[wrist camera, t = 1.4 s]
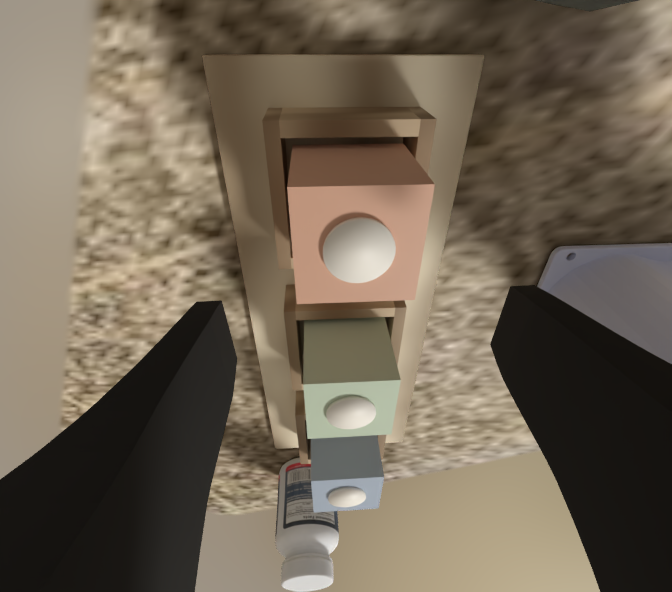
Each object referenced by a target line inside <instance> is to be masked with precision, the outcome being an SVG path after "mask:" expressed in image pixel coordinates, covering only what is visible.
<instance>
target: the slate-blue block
mask: <svg viewBox="0 0 672 592" xmlns="http://www.w3.org/2000/svg"><path fill="white" fill-rule="evenodd" d="M383 480H384V474H383V468H382V462H381V456H380V450H379V444H378V438H377V435H371V436H353V437H334V438H316V439H311V486H312V498H313V511H314V513H315V512H331V511H345V510H361V509H377V508H379V503H380V497H381V491H382V486H383Z"/></svg>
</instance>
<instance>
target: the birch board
mask: <svg viewBox="0 0 672 592" xmlns="http://www.w3.org/2000/svg"><path fill="white" fill-rule="evenodd" d="M484 57H485V55H480V54H208V55H202V59H203V65H204V70H205V75H206V81H207V86H208V92H209V97H210V102H211V108H212V113H213V118H214V124H215V129H216V134H217V140H218V145H219V150H220V156H221V161H222V166H223V172H224V177H225V183H226V188H227V193H228V199H229V204H230V209H231V215H232V220H233V225H234V231H235V236H236V241H237V247H238V252H239V258H240V263H241V268H242V274H243V279H244V284H245V290H246V295H247V300H248V306H249V311H250V316H251V322H252V327H253V332H254V338H255V343H256V349H257V354H258V359H259V365H260V370H261V375H262V381H263V386H264V391H265V397H266V402H267V407H268V413H269V418H270V423H271V429H272V434H273V440H274V445H275V449H285V448H299V455H300V463H301V464H311V439H308V437H307V425H306V412H305V400H304V388H303V367H304V320H317V319H343V318H370V317H385V320H386V324H387V328H388V332H389V336H390V340H391V344H392V347H393V351H394V355H395V359H396V363H397V367H398V371H399V375H400V379H401V382H400V388H399V394H398V399H397V405H396V411H395V417H394V422H393V428H392V434H389V435H377V438H378V444H379V450H380V456H381V460H383V453H384V447H385V443H393V442H403V437H404V433H405V428H406V423H407V419H408V414H409V409H410V405H411V400H412V395H413V390H414V386H415V381H416V376H417V372H418V367H419V362H420V358H421V353H422V348H423V343H424V339H425V334H426V329H427V325H428V320H429V315H430V311H431V306H432V301H433V296H434V292H435V287H436V282H437V278H438V273H439V268H440V264H441V259H442V254H443V249H444V245H445V240H446V235H447V231H448V226H449V221H450V217H451V212H452V207H453V203H454V198H455V193H456V188H457V184H458V179H459V174H460V170H461V165H462V160H463V156H464V151H465V146H466V141H467V137H468V132H469V127H470V123H471V118H472V113H473V109H474V104H475V99H476V94H477V90H478V85H479V80H480V76H481V71H482V66H483V62H484ZM400 143H403V144H404V145H405V146H406V147H407V149H408V150H409V151H410V153H411V154H412V155H413V156H414V158H415V159H416V160H417V162H418V163H419V164H420V166H421V167H422V168H423V169H424V171H425V172H426V173H427V175H428V176H429V177H430V178H431V180H432V181H433V182H434V184H435V187H434V193H433V199H432V204H431V210H430V216H429V222H428V227H427V233H426V239H425V244H424V250H423V256H422V262H421V267H420V273H419V279H418V285H417V290H416V296H415V300H399V301H371V302H343V303H315V304H297V302H296V289H295V277H294V265H293V252H292V240H291V228H290V215H289V203H288V191H287V185H288V177H289V169H290V161H291V153H292V145H324V144H400Z"/></svg>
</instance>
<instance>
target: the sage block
mask: <svg viewBox="0 0 672 592" xmlns="http://www.w3.org/2000/svg"><path fill="white" fill-rule="evenodd" d="M400 382H401V379H400V375H399V371H398V367H397V363H396V359H395V355H394V351H393V347H392V344H391V340H390V336H389V332H388V328H387V324H386V320H385V317H370V318H343V319H317V320H304V367H303V388H304V400H305V412H306V425H307V437H308V439H316V438H334V437H353V436H371V435H389V434H392V428H393V422H394V417H395V411H396V405H397V399H398V394H399V388H400Z"/></svg>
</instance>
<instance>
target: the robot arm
mask: <svg viewBox="0 0 672 592" xmlns="http://www.w3.org/2000/svg"><path fill="white" fill-rule="evenodd" d="M570 253H571V255H569V254H570ZM568 255H569V256H568ZM567 256H568V257H567ZM490 345H491V348H492V351H493V354H494V356H495V359H496V362H497V365H498V367H499V370H500V372H501V375H502V378H503V380H504V382H505V384H506V386H507V388H508V390H509V392H510V393H511V395H512V397H513V399H514V401H515V403H516V405H517V407H518V408H519V410H520V412H521V414H522V416H523V418H524V420H525V421H526V423H527V425H528V427H529V429H530V431H531V432H532V434H533V436H534V438H535V440H536V442H537V443H538V445H539V447H540V449H541V451H542V453H543V455H544V456H545V458H546V460H547V462H548V464H549V466H550V468H551V470H552V472H553V474H554V476H555V478H556V480H557V483H558V485H559V487H560V490H561V492H562V495H563V497H564V499H565V502H566V504H567V506H568V509H569V511H570V513H571V516H572V518H573V520H574V523H575V526H576V528H577V530H578V533H579V536H580V539H581V541H582V544H583V546H584V549H585V551H586V554H587V556H588V559H589V562H590V564H591V567H592V569H593V572H594V575H595V578H596V581H597V583H598V586H599V589H600V592H672V243H654V244H619V245H584V246H561V247H558V248H556V249H555V250H553V251H552V253H551V255H550V257H549V260H548V262H547V264H546V267H545V269H544V271H543V274H542V276H541V278H540V281H539V283H538V285H537V286H535V285H530V286H511V287H510V289H509V292H508V295H507V298H506V301H505V304H504V307H503V310H502V312H501V315H500V318H499V321H498V324H497V327H496V330H495V333H494V335H493V338H492V341H491V344H490ZM236 364H237V356H236V353H235V349H234V345H233V341H232V338H231V334H230V330H229V326H228V323H227V319H226V315H225V311H224V308H223V304H222V301H204V302H196V303H195V304H194V305H193V306H192V307H191V308H190V309H189V310H188V311H187V312H186V313H185V314H184V315H183V317H182V318H181V319H180V320H179V321H178V322H177V323H176V324H175V325H174V326H173V327H172V328H171V329H170V330H169V331H168V333H167V334H166V335H165V336H164V337H163V338H162V339H161V340H160V341H159V342H158V343H157V344H156V345H155V346H154V347H153V348H152V349H151V350H150V351H149V352H148V353H147V354H146V355H145V356H144V358H143V359H142V360H141V361H140V362H139V363H138V364H137V365H136V366H135V367H134V368H133V369H132V370H131V371H129V372H128V373H127V374H126V375H125V376H124V377H123V378H122V379H121V380H120V381H119V382H118V383H117V384H116V385H115V386H114V387H113V388H112V389H110V390H109V391H108V392H107V393H106V394H105V395H104V396H103V397H102V398H101V399H100V400H99V401H98V402H97V403H95V404H94V405H93V406H92V407H91V408H90V409H89V410H88V411H86V412H85V413H84V414H83V415H82V416H81V417H79V418H78V419H77V420H76V421H75V422H74V423H72V424H71V425H70V426H69V427H68V428H66V429H65V430H64V431H63V432H61V433H60V434H59V435H58V436H57V437H55V438H54V439H53V440H52V441H51V442H50V443H48V444H47V445H46V446H44V447H43V448H42V449H41V450H39V451H38V452H37V453H35V454H34V455H33V456H32V457H30V458H29V459H28V460H26V461H25V462H23V463H22V464H21V465H19V466H18V467H17V468H15V469H14V470H13V471H11V472H10V473H9V474H7V475H6V476H5V477H3V478H2V479H1V480H0V592H195V584H196V577H197V570H198V562H199V555H200V547H201V541H202V534H203V527H204V521H205V513H206V507H207V502H208V497H209V492H210V487H211V483H212V479H213V474H214V470H215V466H216V462H217V458H218V454H219V450H220V446H221V442H222V438H223V434H224V430H225V426H226V422H227V418H228V414H229V410H230V405H231V401H232V397H233V390H234V382H235V374H236Z"/></svg>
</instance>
